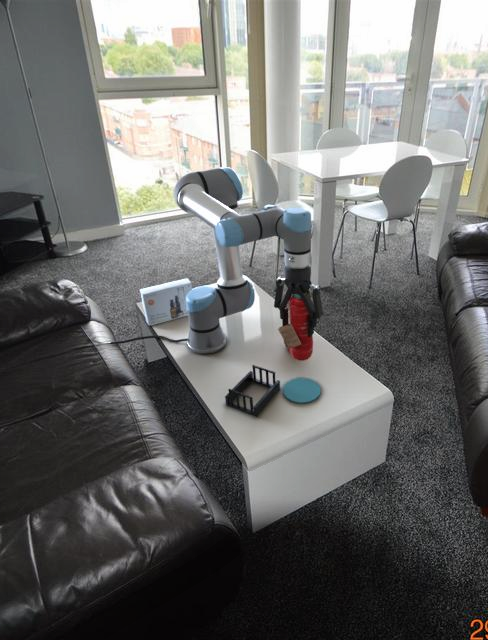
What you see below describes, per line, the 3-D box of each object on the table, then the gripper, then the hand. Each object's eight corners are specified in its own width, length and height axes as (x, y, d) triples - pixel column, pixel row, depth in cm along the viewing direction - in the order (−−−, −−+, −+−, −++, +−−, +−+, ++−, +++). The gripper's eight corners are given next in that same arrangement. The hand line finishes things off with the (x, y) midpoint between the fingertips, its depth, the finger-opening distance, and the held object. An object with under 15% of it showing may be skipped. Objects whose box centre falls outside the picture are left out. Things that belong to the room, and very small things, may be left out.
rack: (226, 405, 146) (223, 388, 142) (251, 379, 157) (249, 363, 153) (256, 417, 141) (255, 400, 137) (280, 389, 152) (279, 372, 148)
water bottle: (291, 371, 138) (289, 300, 124) (276, 359, 143) (272, 290, 129) (320, 356, 144) (321, 287, 130) (304, 346, 149) (304, 278, 135)
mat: (276, 396, 150) (276, 394, 149) (294, 375, 159) (294, 373, 159) (310, 408, 144) (310, 407, 144) (326, 385, 154) (326, 384, 153)
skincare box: (149, 327, 188) (142, 294, 179) (146, 321, 192) (138, 288, 183) (196, 314, 197) (191, 281, 188) (192, 308, 200) (187, 277, 192)
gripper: (259, 262, 127) (263, 328, 139) (325, 276, 118) (323, 346, 131) (272, 253, 132) (275, 318, 145) (337, 266, 123) (333, 334, 136)
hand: (298, 331), depth 138 cm, fingers closed on water bottle, 8 cm apart
